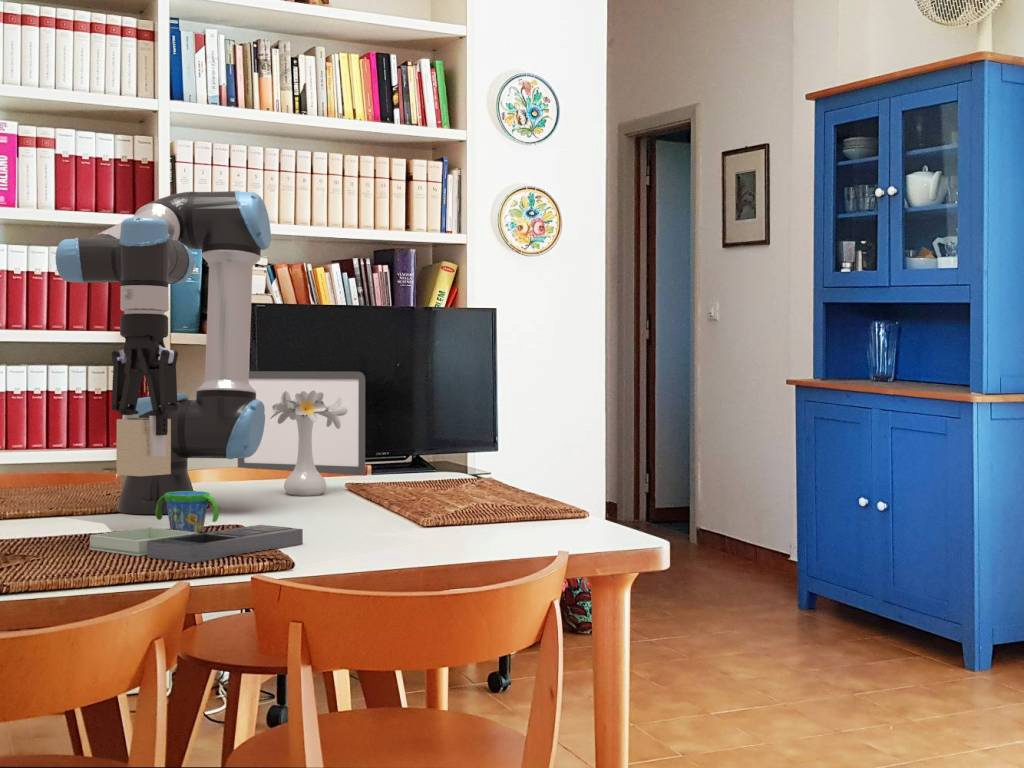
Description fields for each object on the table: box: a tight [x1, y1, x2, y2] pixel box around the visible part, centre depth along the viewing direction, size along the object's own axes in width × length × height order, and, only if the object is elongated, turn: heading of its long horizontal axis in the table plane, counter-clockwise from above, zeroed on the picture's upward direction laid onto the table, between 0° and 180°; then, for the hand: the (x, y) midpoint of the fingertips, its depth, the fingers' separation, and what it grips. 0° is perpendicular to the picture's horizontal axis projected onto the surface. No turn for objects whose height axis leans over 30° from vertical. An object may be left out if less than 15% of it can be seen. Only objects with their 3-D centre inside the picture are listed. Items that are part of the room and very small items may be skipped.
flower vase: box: [269, 390, 348, 497], centre depth 264 cm, size 13×18×25 cm
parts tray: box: [89, 527, 198, 557], centre depth 192 cm, size 12×12×2 cm
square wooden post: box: [116, 418, 171, 476], centre depth 191 cm, size 6×6×9 cm
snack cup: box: [155, 490, 220, 533], centre depth 208 cm, size 11×8×7 cm
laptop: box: [237, 370, 366, 476], centre depth 295 cm, size 38×29×29 cm
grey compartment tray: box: [146, 524, 304, 564], centre depth 190 cm, size 10×24×3 cm, turn 146°
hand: (143, 454), depth 191 cm, fingers closed on square wooden post, 6 cm apart
